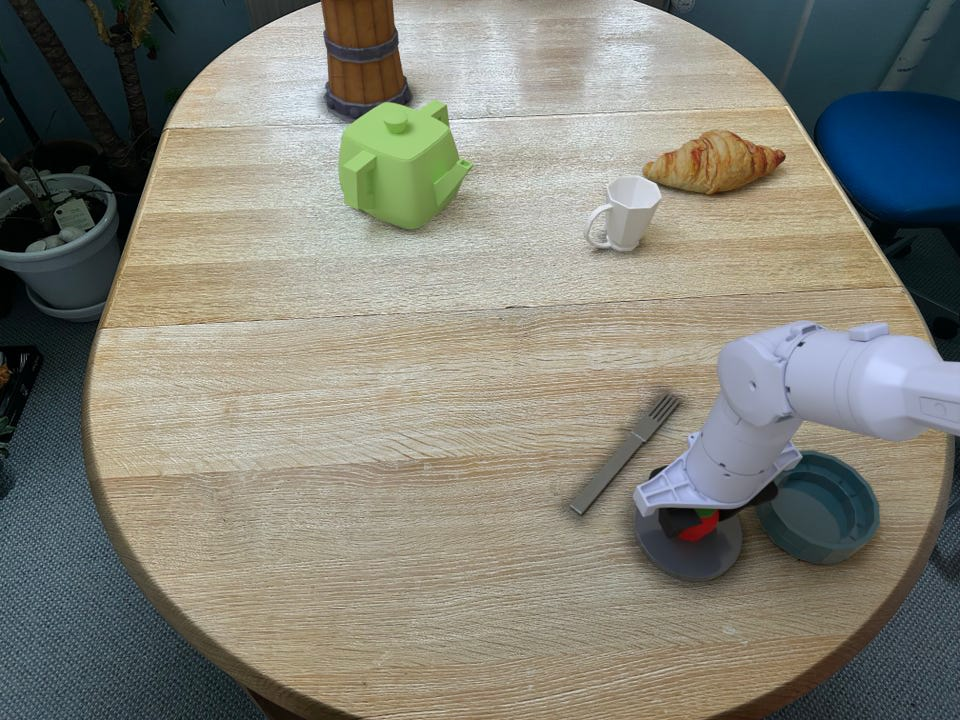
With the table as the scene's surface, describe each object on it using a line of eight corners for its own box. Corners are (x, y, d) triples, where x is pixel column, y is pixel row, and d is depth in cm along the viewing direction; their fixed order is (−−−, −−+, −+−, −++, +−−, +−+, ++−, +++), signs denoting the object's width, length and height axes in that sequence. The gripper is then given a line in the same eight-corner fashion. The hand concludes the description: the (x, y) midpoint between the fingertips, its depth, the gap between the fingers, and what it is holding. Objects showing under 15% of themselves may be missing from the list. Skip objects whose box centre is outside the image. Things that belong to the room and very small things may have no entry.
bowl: (875, 512, 65) (896, 493, 62) (834, 588, 61) (854, 572, 58) (780, 453, 69) (795, 432, 66) (734, 520, 65) (747, 501, 62)
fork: (582, 517, 65) (583, 515, 64) (567, 506, 65) (568, 503, 65) (679, 402, 73) (680, 400, 73) (665, 394, 74) (666, 391, 74)
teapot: (509, 192, 95) (514, 108, 85) (423, 273, 85) (418, 188, 75) (406, 148, 102) (400, 65, 91) (315, 218, 91) (296, 133, 81)
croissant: (641, 213, 98) (660, 189, 91) (628, 149, 100) (646, 121, 92) (778, 197, 100) (807, 172, 93) (763, 135, 102) (791, 106, 94)
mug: (297, 78, 114) (270, -53, 98) (373, 55, 119) (359, -72, 103) (348, 133, 104) (328, -2, 88) (429, 106, 109) (423, -26, 93)
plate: (757, 525, 64) (761, 521, 64) (705, 604, 60) (709, 601, 59) (667, 464, 68) (670, 459, 68) (612, 534, 64) (614, 529, 63)
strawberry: (717, 523, 63) (733, 500, 60) (696, 554, 61) (711, 532, 58) (680, 498, 65) (694, 473, 61) (658, 527, 63) (671, 503, 59)
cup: (659, 248, 89) (674, 199, 82) (595, 272, 86) (606, 223, 79) (628, 217, 92) (640, 168, 86) (566, 239, 89) (574, 189, 83)
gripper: (787, 379, 56) (735, 462, 66) (630, 425, 52) (602, 504, 63) (842, 449, 51) (777, 526, 62) (674, 504, 48) (636, 574, 59)
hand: (691, 519), depth 62 cm, fingers open, 5 cm apart
